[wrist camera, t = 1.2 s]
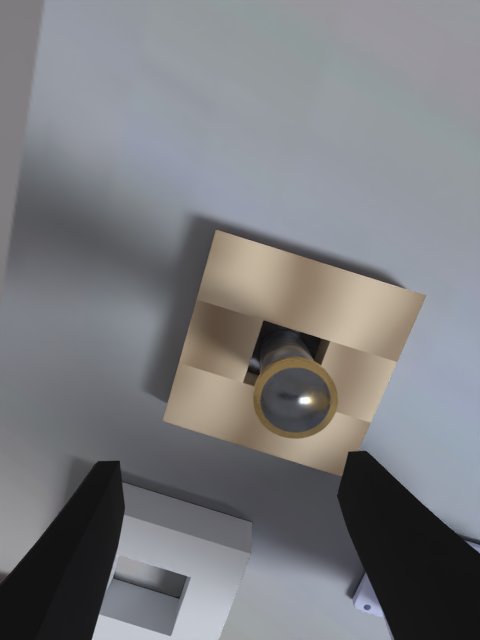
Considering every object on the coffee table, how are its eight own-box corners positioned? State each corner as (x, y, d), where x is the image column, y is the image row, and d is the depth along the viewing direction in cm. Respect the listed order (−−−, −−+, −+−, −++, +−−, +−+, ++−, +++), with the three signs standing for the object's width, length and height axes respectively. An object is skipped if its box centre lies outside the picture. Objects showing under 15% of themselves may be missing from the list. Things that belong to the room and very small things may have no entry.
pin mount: (409, 291, 19) (426, 295, 17) (338, 458, 22) (346, 478, 20) (220, 232, 19) (215, 229, 17) (171, 406, 22) (162, 421, 20)
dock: (252, 522, 23) (251, 554, 21) (207, 640, 26) (202, 681, 23) (95, 473, 23) (75, 499, 21) (66, 597, 26) (45, 633, 23)
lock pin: (319, 334, 20) (350, 375, 13) (300, 385, 21) (320, 448, 14) (265, 317, 20) (268, 349, 13) (248, 368, 21) (242, 424, 14)
